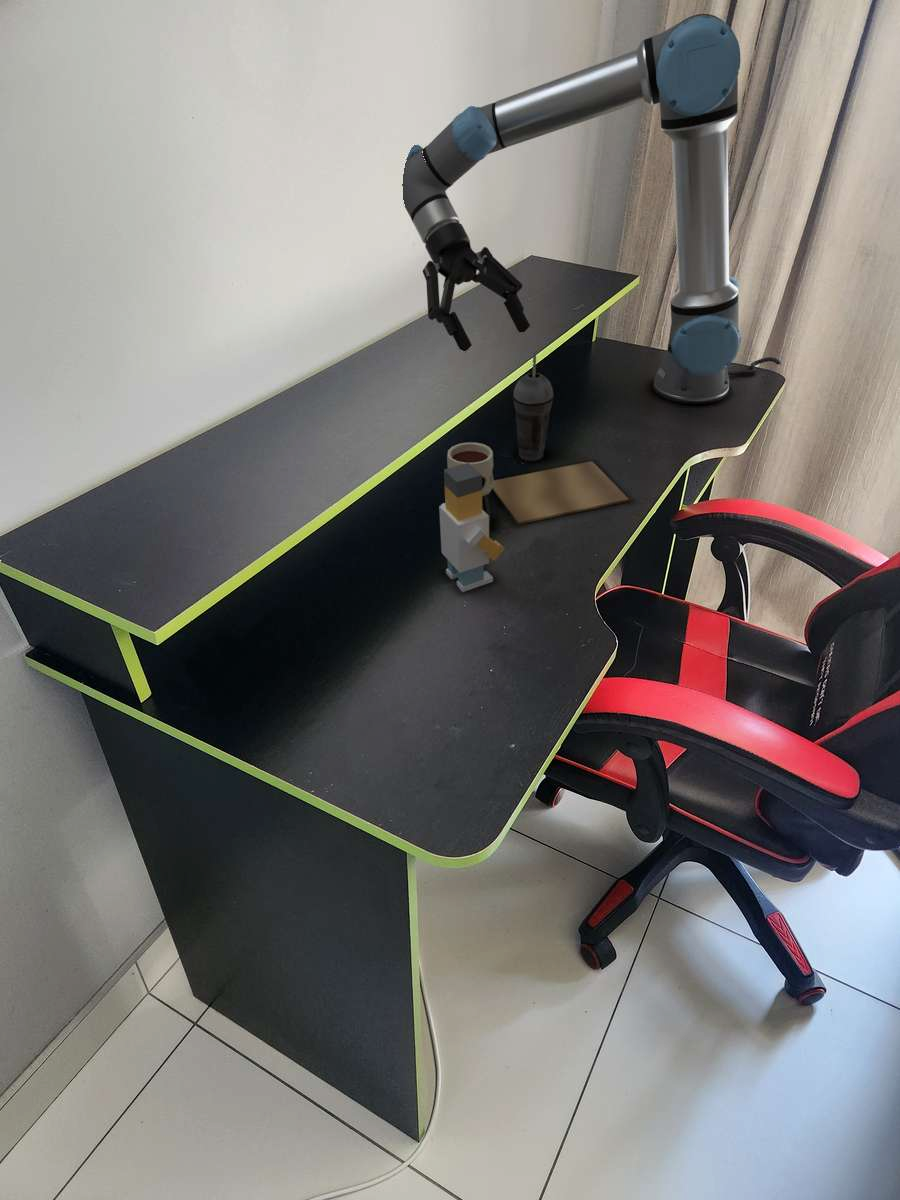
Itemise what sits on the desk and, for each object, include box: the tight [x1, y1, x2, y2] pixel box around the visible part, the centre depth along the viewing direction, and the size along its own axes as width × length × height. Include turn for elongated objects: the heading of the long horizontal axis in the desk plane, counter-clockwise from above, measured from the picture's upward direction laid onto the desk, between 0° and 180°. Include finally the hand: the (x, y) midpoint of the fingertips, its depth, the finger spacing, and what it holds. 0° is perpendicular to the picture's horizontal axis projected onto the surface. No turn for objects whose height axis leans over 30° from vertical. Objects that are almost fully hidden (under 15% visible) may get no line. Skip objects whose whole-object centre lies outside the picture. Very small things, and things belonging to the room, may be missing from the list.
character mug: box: [446, 442, 494, 525], centre depth 123 cm, size 11×7×13 cm, turn 141°
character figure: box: [438, 463, 506, 593], centre depth 110 cm, size 8×10×18 cm
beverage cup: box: [512, 351, 555, 462], centre depth 139 cm, size 7×7×20 cm
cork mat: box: [491, 460, 630, 526], centre depth 134 cm, size 20×14×1 cm
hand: (496, 339), depth 139 cm, fingers open, 13 cm apart
